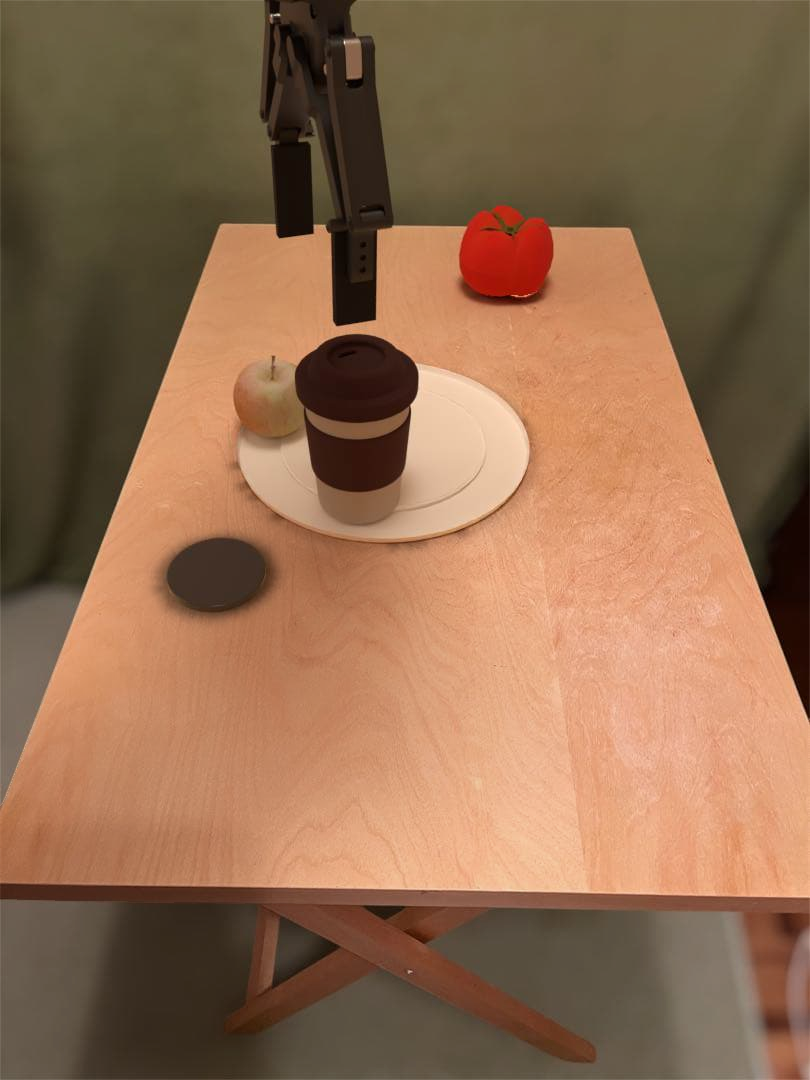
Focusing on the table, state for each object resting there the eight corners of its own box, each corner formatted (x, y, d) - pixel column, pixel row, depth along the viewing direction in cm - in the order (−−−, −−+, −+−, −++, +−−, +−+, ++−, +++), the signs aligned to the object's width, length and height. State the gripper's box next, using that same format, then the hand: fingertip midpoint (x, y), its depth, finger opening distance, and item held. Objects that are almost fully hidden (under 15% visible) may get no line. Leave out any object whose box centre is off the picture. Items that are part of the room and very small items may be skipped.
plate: (569, 412, 93) (570, 406, 92) (453, 586, 75) (454, 580, 74) (332, 341, 102) (332, 336, 101) (176, 481, 84) (175, 475, 83)
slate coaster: (178, 624, 71) (176, 617, 71) (159, 557, 77) (158, 550, 76) (277, 598, 73) (277, 591, 73) (252, 535, 79) (252, 528, 78)
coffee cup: (415, 537, 79) (420, 390, 68) (299, 536, 78) (288, 389, 68) (413, 465, 86) (418, 323, 76) (307, 464, 86) (298, 321, 75)
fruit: (270, 397, 93) (263, 328, 88) (327, 422, 91) (324, 352, 85) (220, 434, 89) (209, 363, 83) (279, 461, 86) (272, 389, 80)
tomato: (438, 284, 113) (442, 213, 106) (511, 259, 118) (519, 190, 112) (494, 320, 106) (502, 247, 100) (569, 292, 112) (580, 221, 106)
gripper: (469, -48, 42) (442, 354, 56) (310, -126, 59) (320, 199, 73) (313, -42, 40) (326, 375, 54) (194, -125, 57) (228, 210, 71)
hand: (322, 274), depth 64 cm, fingers open, 13 cm apart
